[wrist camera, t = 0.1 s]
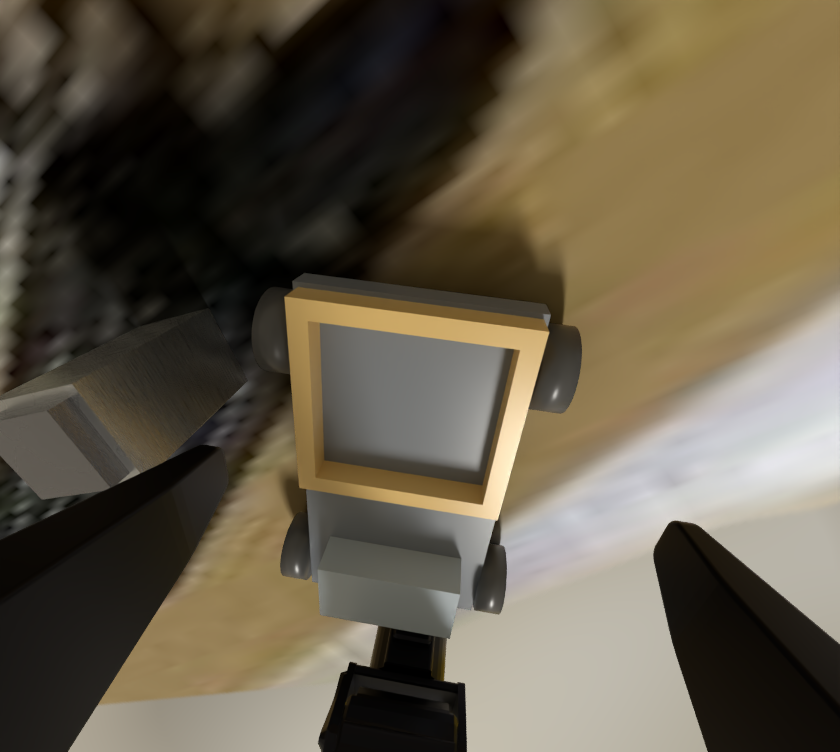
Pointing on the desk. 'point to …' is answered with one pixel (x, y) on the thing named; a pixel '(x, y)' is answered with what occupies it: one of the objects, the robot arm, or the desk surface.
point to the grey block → (118, 406)
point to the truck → (407, 438)
